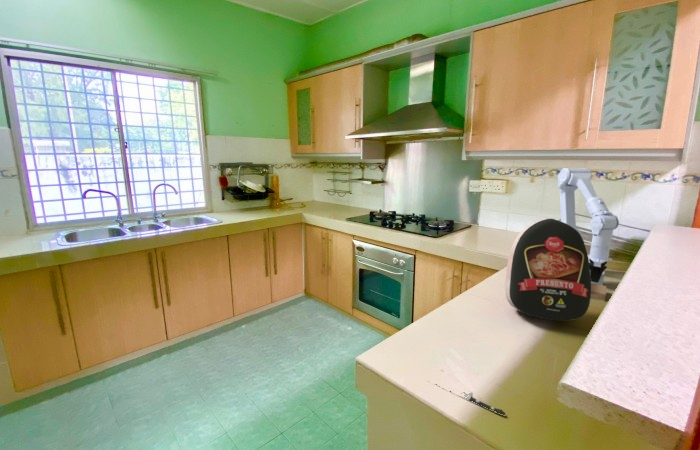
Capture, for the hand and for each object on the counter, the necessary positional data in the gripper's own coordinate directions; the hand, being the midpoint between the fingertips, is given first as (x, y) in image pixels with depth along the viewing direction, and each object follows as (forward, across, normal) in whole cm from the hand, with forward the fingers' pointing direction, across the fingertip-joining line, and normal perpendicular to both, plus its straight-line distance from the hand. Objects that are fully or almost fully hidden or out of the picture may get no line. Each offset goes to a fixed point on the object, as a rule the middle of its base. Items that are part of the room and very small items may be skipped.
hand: (594, 279), depth 123 cm
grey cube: (+2, 0, 0) cm, 2 cm away
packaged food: (+2, -40, +12) cm, 42 cm away
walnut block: (+2, -12, +1) cm, 12 cm away
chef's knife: (+2, -90, +19) cm, 92 cm away
